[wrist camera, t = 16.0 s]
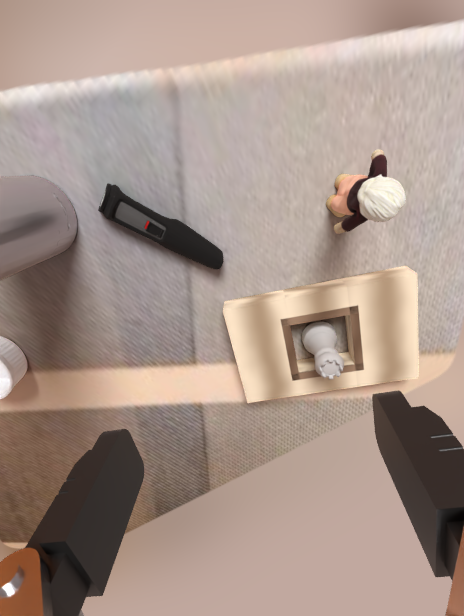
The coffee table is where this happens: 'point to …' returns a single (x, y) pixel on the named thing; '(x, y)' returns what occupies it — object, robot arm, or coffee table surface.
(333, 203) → the grandmother figurine
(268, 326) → the socket board
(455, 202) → the coffee table surface
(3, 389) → the ramekin
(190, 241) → the electric trimmer
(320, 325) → the rook chess piece
